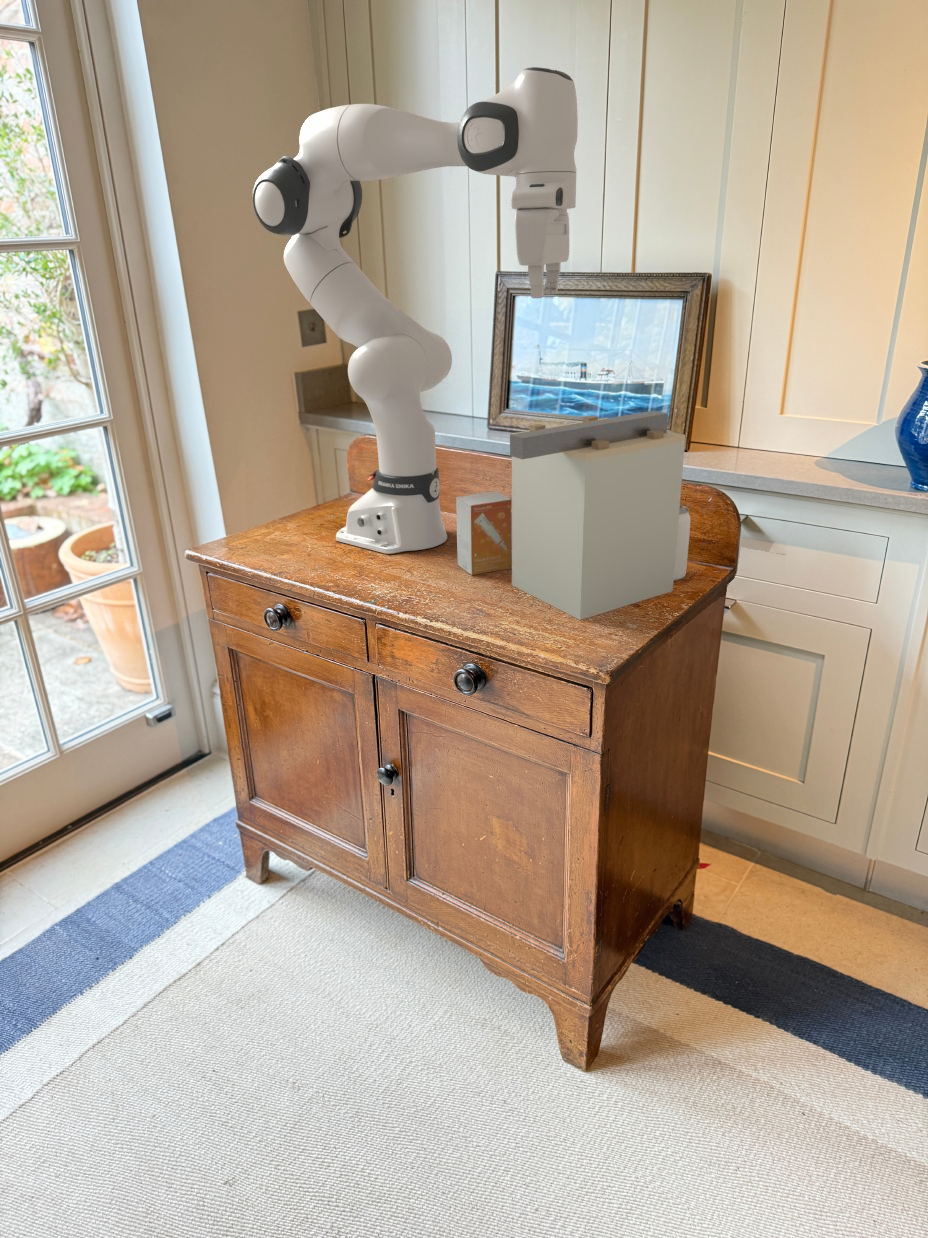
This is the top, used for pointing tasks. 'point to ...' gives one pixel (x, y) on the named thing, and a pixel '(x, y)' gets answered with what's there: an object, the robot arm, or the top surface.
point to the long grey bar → (585, 434)
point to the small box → (484, 532)
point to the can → (682, 543)
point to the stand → (597, 522)
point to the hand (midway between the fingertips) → (544, 295)
